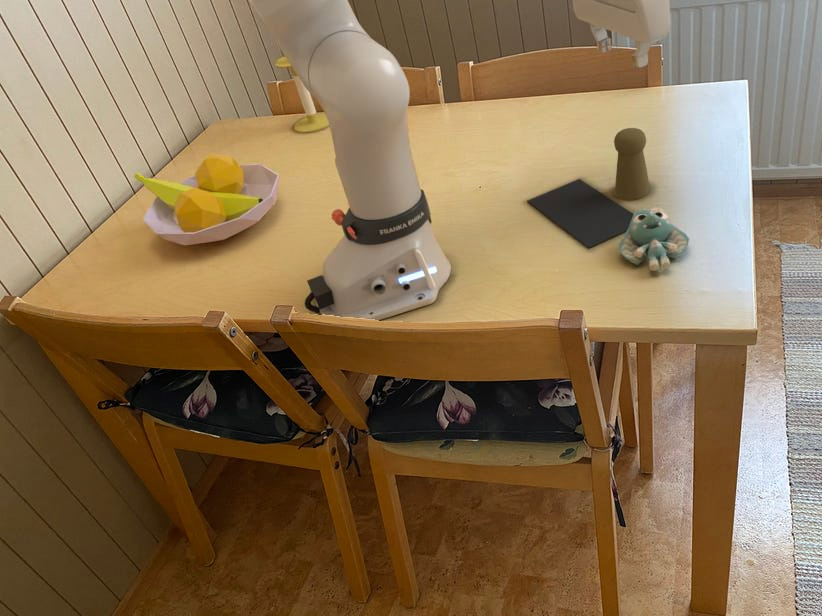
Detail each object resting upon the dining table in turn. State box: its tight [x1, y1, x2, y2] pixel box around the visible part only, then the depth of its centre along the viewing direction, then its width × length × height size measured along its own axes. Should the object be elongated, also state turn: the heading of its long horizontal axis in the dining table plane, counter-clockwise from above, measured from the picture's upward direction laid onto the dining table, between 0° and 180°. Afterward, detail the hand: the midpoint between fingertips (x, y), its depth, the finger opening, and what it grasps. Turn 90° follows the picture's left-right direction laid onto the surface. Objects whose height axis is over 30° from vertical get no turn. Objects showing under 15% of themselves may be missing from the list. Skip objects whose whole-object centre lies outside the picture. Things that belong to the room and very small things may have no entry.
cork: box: [613, 127, 651, 201], centre depth 127 cm, size 6×6×11 cm
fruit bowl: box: [133, 153, 280, 246], centre depth 146 cm, size 28×27×11 cm
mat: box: [527, 178, 634, 250], centre depth 128 cm, size 11×20×1 cm, turn 27°
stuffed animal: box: [617, 206, 690, 272], centre depth 113 cm, size 11×7×12 cm
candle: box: [274, 55, 330, 134], centre depth 169 cm, size 10×10×32 cm
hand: (622, 58), depth 115 cm, fingers open, 8 cm apart
